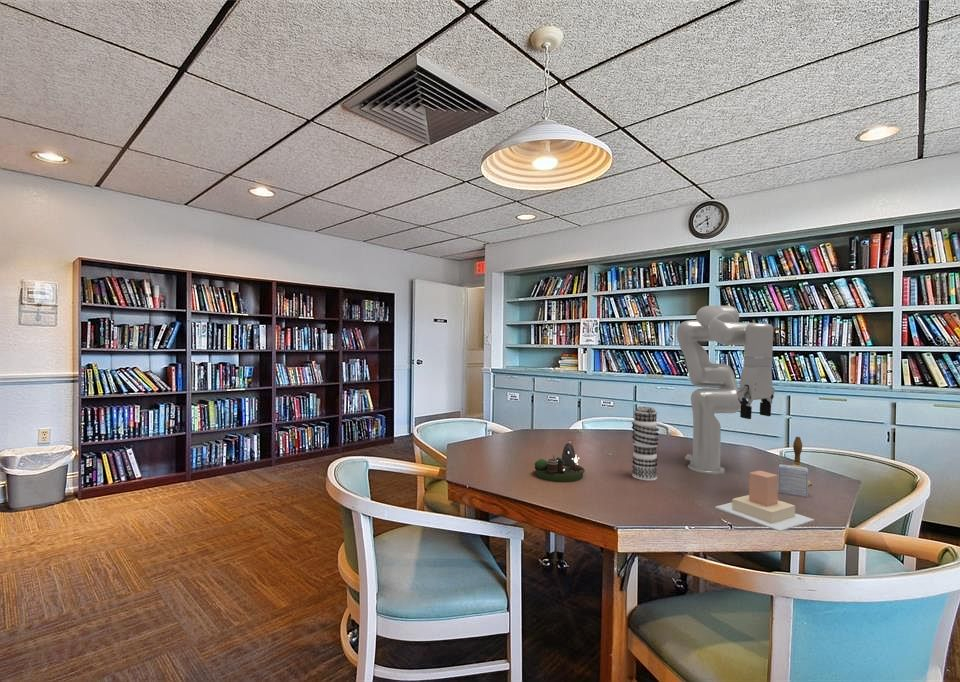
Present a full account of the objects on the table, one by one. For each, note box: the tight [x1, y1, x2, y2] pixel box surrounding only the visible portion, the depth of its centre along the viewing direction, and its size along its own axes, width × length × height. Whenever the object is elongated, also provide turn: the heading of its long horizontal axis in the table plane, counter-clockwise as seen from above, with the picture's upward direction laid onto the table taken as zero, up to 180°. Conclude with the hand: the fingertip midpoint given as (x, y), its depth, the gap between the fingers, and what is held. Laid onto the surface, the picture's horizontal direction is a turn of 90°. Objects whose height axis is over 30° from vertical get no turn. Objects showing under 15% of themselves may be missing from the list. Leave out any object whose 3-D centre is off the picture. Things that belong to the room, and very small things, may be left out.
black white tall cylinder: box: [631, 406, 660, 481], centre depth 161 cm, size 9×9×25 cm
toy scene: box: [534, 442, 586, 483], centre depth 163 cm, size 18×18×11 cm
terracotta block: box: [748, 470, 779, 507], centre depth 126 cm, size 5×5×8 cm
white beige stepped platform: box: [714, 494, 815, 532], centre depth 126 cm, size 18×16×4 cm
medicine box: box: [777, 463, 809, 498], centre depth 145 cm, size 8×4×9 cm, turn 56°
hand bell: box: [790, 436, 812, 487], centre depth 157 cm, size 8×8×16 cm
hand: (755, 416), depth 141 cm, fingers open, 9 cm apart
